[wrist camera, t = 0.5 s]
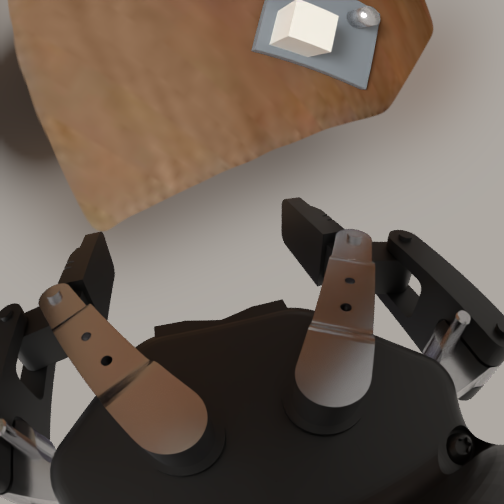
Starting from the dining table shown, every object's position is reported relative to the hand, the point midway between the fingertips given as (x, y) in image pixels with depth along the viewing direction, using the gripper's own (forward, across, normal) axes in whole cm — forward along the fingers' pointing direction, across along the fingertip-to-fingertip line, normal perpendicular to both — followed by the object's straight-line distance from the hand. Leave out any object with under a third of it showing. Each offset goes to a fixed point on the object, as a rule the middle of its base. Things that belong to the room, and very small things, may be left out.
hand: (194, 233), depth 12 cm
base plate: (+27, -21, -17) cm, 38 cm away
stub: (+25, -27, -19) cm, 41 cm away
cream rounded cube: (+25, -16, -14) cm, 33 cm away
